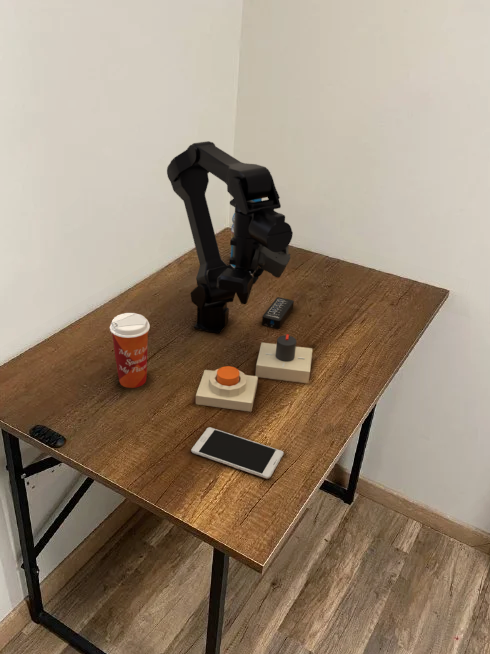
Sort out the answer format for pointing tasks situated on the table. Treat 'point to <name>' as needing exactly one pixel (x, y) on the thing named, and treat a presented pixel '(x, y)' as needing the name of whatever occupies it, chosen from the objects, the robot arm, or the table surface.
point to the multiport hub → (277, 313)
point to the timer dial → (285, 348)
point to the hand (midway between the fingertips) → (244, 303)
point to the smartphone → (238, 452)
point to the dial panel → (284, 364)
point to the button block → (227, 392)
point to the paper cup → (130, 348)
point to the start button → (227, 376)
